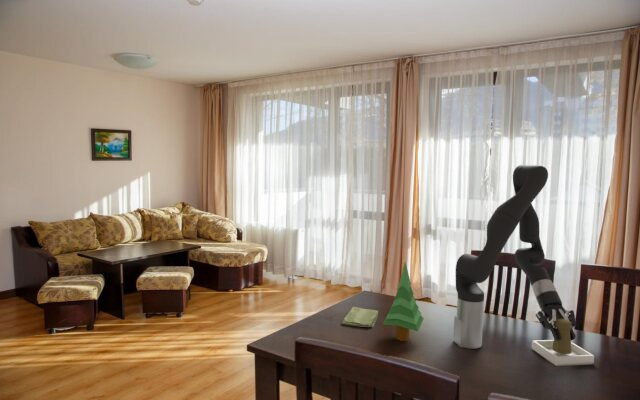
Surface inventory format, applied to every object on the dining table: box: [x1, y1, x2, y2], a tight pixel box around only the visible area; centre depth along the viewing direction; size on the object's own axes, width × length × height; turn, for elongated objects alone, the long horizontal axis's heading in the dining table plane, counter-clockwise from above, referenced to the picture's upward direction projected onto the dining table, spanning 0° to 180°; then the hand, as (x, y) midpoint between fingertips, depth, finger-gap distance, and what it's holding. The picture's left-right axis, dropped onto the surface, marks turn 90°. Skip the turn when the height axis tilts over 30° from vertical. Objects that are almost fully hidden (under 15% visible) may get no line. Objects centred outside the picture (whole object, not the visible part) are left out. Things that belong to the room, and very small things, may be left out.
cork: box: [552, 319, 573, 354], centre depth 154 cm, size 6×6×11 cm
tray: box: [531, 339, 595, 367], centre depth 154 cm, size 14×14×3 cm
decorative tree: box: [382, 261, 424, 342], centre depth 166 cm, size 14×16×30 cm
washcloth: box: [341, 306, 379, 329], centre depth 186 cm, size 13×18×3 cm
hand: (566, 339), depth 152 cm, fingers closed on cork, 4 cm apart
